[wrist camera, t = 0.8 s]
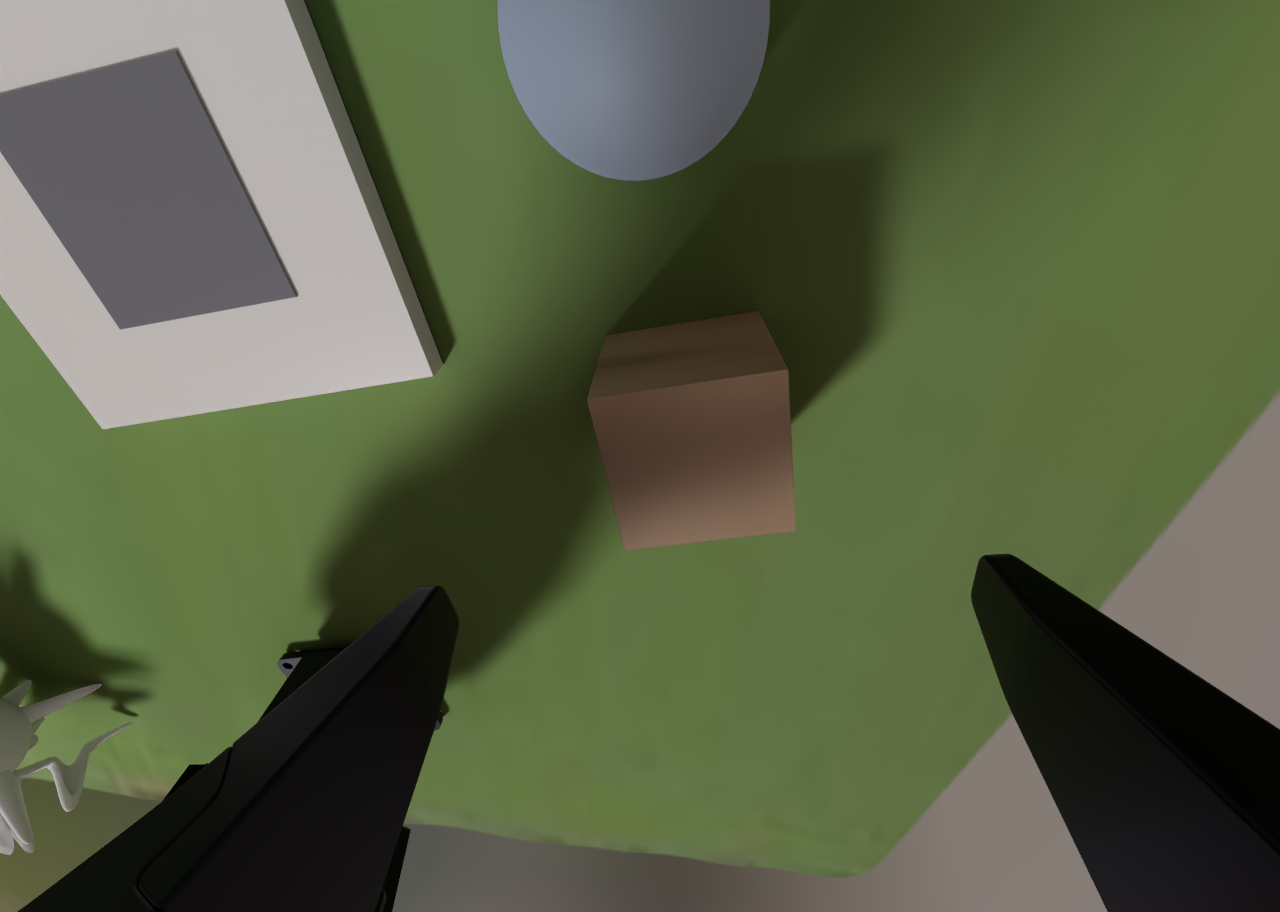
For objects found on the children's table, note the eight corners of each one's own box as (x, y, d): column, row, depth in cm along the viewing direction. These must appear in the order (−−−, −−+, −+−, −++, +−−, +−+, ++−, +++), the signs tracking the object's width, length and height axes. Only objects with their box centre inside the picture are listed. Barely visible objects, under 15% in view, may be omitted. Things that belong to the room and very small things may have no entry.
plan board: (443, 365, 20) (432, 377, 19) (125, 416, 21) (100, 430, 20) (249, -144, 13) (217, -165, 12) (-188, -14, 15) (-247, -24, 14)
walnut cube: (767, 444, 21) (795, 530, 16) (632, 462, 22) (624, 550, 17) (758, 309, 18) (788, 369, 14) (605, 334, 19) (587, 399, 15)
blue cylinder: (746, 146, 16) (777, 154, 12) (571, 181, 17) (538, 202, 12) (729, -99, 13) (760, -203, 9) (521, -45, 14) (459, -121, 10)
